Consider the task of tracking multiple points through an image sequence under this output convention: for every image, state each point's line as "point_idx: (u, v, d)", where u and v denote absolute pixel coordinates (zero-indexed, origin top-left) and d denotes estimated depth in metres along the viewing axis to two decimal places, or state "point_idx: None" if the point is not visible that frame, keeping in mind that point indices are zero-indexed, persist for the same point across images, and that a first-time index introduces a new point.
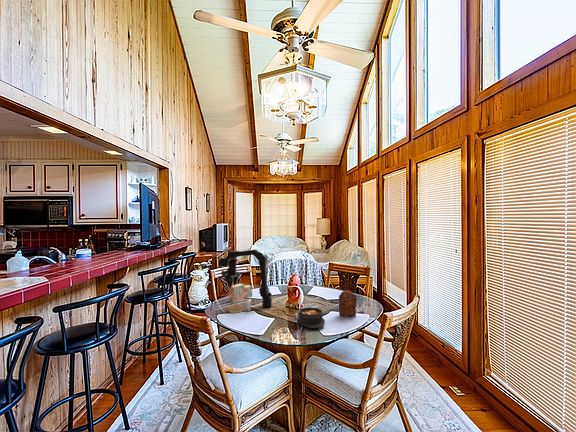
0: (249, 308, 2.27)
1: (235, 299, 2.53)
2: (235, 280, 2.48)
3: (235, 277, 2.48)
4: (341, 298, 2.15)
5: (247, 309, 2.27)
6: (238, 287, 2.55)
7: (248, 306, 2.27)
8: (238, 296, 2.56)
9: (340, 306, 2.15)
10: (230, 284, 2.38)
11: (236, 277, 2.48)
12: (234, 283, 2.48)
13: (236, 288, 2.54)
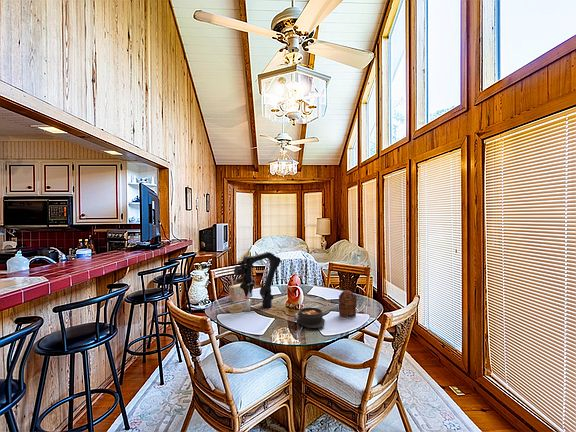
0: (249, 308, 2.27)
1: (235, 299, 2.53)
2: (251, 288, 2.32)
3: (251, 284, 2.33)
4: (341, 298, 2.15)
5: (247, 309, 2.27)
6: (238, 287, 2.55)
7: (248, 306, 2.27)
8: (238, 296, 2.56)
9: (340, 306, 2.15)
10: (246, 292, 2.22)
11: (252, 284, 2.33)
12: (250, 291, 2.32)
13: (236, 288, 2.54)
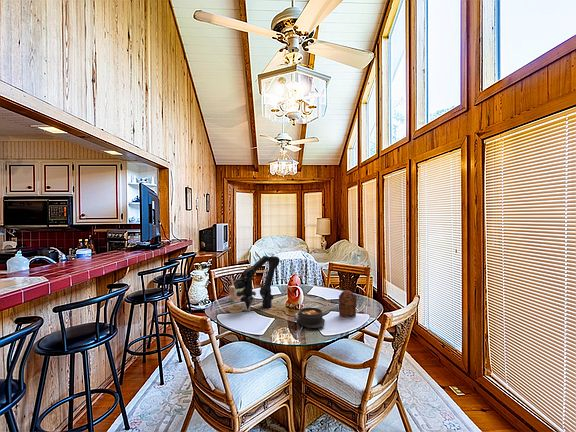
0: (249, 308, 2.27)
1: (235, 299, 2.53)
2: None
3: (250, 298, 2.30)
4: (341, 298, 2.15)
5: (247, 309, 2.27)
6: None
7: None
8: None
9: (340, 306, 2.15)
10: (248, 305, 2.25)
11: (251, 298, 2.30)
12: None
13: None
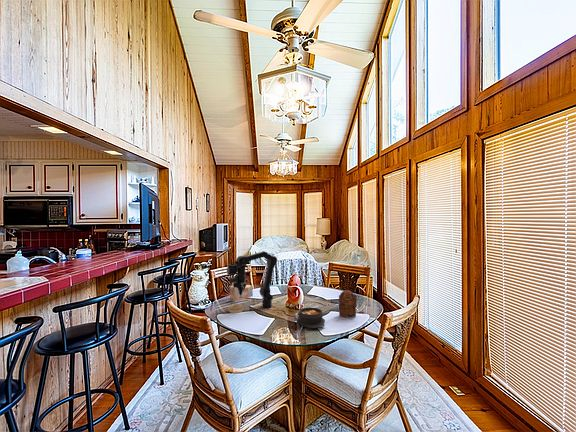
0: (242, 294, 2.27)
1: (236, 299, 2.53)
2: (242, 288, 2.30)
3: (242, 285, 2.30)
4: (341, 298, 2.15)
5: (240, 295, 2.27)
6: None
7: None
8: None
9: (340, 306, 2.15)
10: (240, 291, 2.26)
11: (244, 285, 2.30)
12: None
13: (237, 288, 2.54)
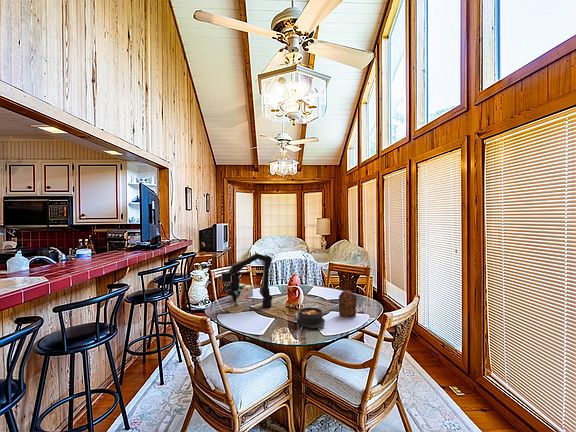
0: (236, 302, 2.29)
1: None
2: None
3: (237, 293, 2.32)
4: (341, 298, 2.15)
5: (234, 303, 2.29)
6: None
7: None
8: (239, 296, 2.56)
9: (340, 306, 2.15)
10: (235, 298, 2.27)
11: (238, 293, 2.31)
12: None
13: None
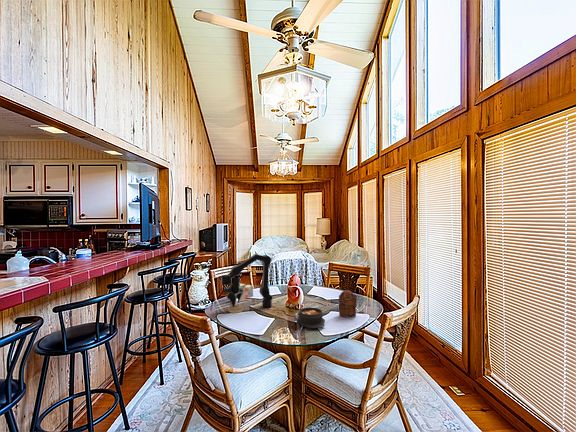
0: None
1: None
2: (238, 297, 2.34)
3: (238, 294, 2.35)
4: (341, 298, 2.15)
5: None
6: (239, 287, 2.56)
7: (235, 305, 2.29)
8: None
9: (340, 306, 2.15)
10: (233, 302, 2.24)
11: (239, 294, 2.35)
12: None
13: None
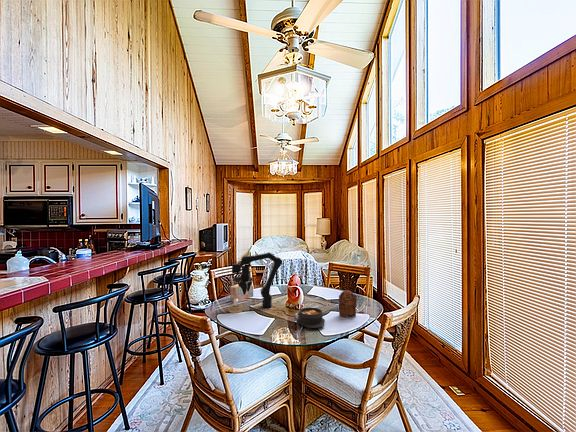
0: None
1: None
2: (248, 286, 2.40)
3: (248, 283, 2.40)
4: (341, 298, 2.15)
5: None
6: (240, 287, 2.56)
7: (235, 305, 2.29)
8: (240, 296, 2.56)
9: (340, 306, 2.15)
10: (244, 290, 2.30)
11: (249, 283, 2.40)
12: (247, 289, 2.40)
13: (238, 288, 2.54)
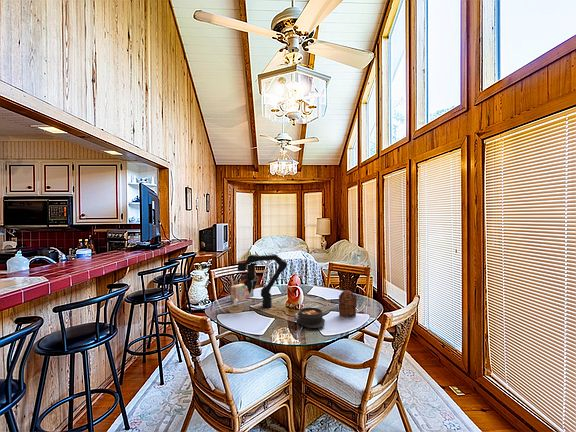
0: None
1: None
2: (254, 284, 2.43)
3: (254, 281, 2.44)
4: (341, 298, 2.15)
5: None
6: (240, 287, 2.56)
7: (235, 305, 2.29)
8: (240, 296, 2.56)
9: (340, 306, 2.15)
10: (249, 289, 2.33)
11: (255, 281, 2.44)
12: (253, 288, 2.43)
13: (238, 288, 2.54)
